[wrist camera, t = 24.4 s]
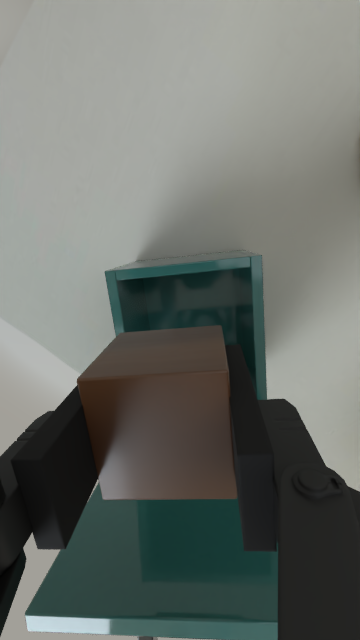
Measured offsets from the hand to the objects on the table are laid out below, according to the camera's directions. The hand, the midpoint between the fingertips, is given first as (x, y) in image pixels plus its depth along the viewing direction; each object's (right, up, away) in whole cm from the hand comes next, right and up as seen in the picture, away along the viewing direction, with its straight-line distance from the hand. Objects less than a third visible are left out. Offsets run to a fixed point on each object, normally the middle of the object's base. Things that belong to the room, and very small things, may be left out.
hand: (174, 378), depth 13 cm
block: (0, 0, 0) cm, 0 cm away
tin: (+2, +3, +20) cm, 20 cm away
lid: (+1, -7, +4) cm, 8 cm away
